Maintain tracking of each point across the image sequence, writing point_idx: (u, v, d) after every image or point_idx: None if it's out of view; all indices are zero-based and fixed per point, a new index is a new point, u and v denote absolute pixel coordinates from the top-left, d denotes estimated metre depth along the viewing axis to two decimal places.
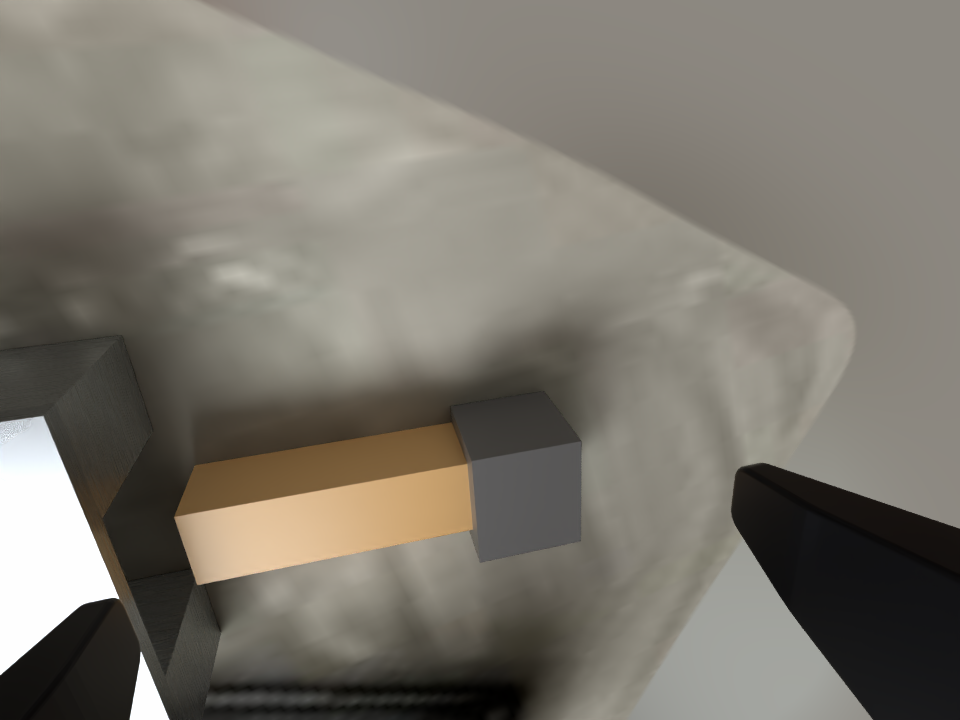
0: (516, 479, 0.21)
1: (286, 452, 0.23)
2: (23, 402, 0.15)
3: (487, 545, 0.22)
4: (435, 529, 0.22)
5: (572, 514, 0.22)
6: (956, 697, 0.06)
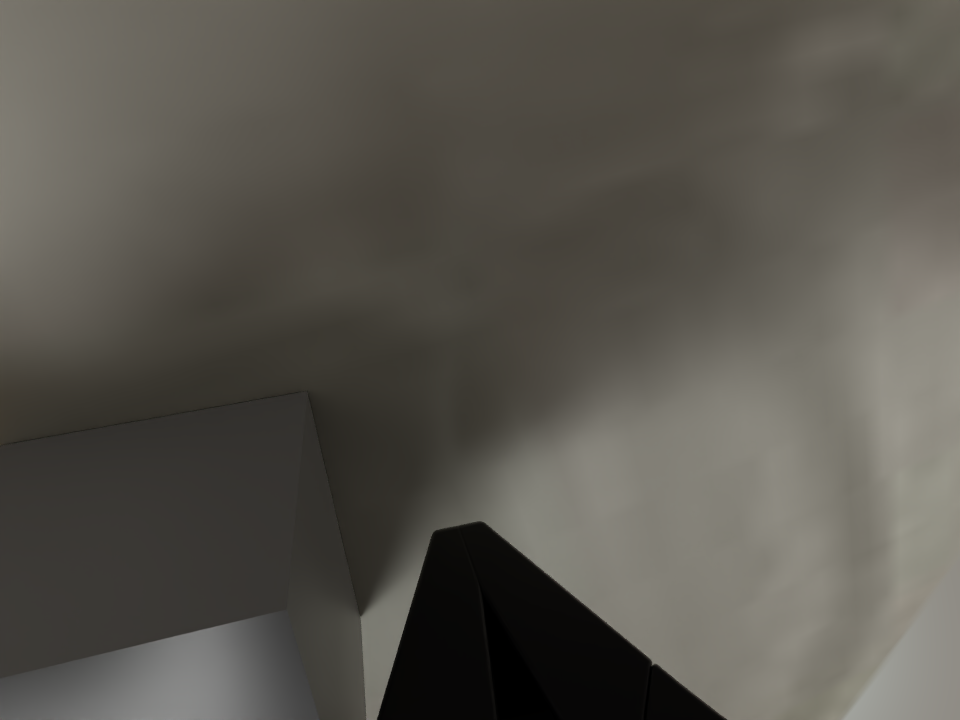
0: None
1: None
2: None
3: None
4: None
5: None
6: None
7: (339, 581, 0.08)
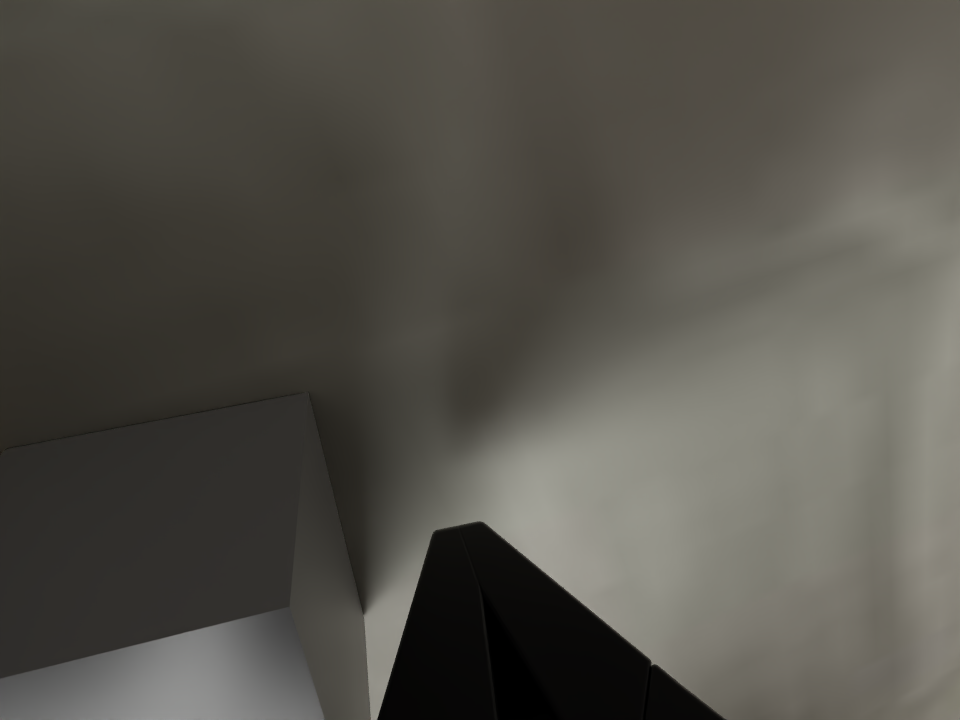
0: None
1: None
2: None
3: None
4: None
5: None
6: None
7: (342, 580, 0.08)
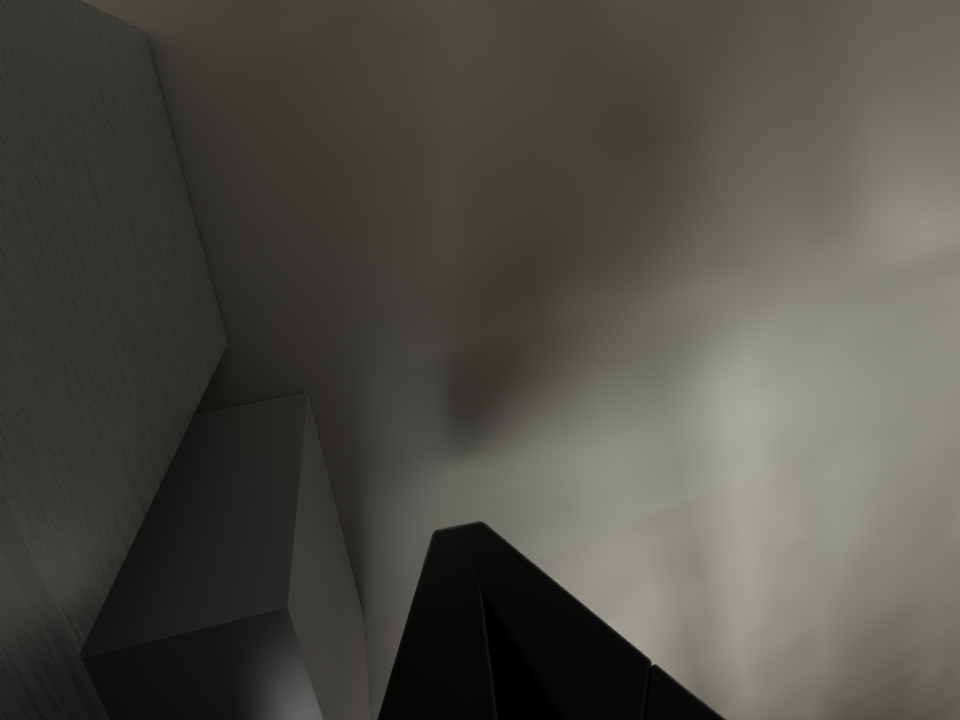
0: None
1: None
2: None
3: None
4: None
5: None
6: None
7: (342, 580, 0.08)
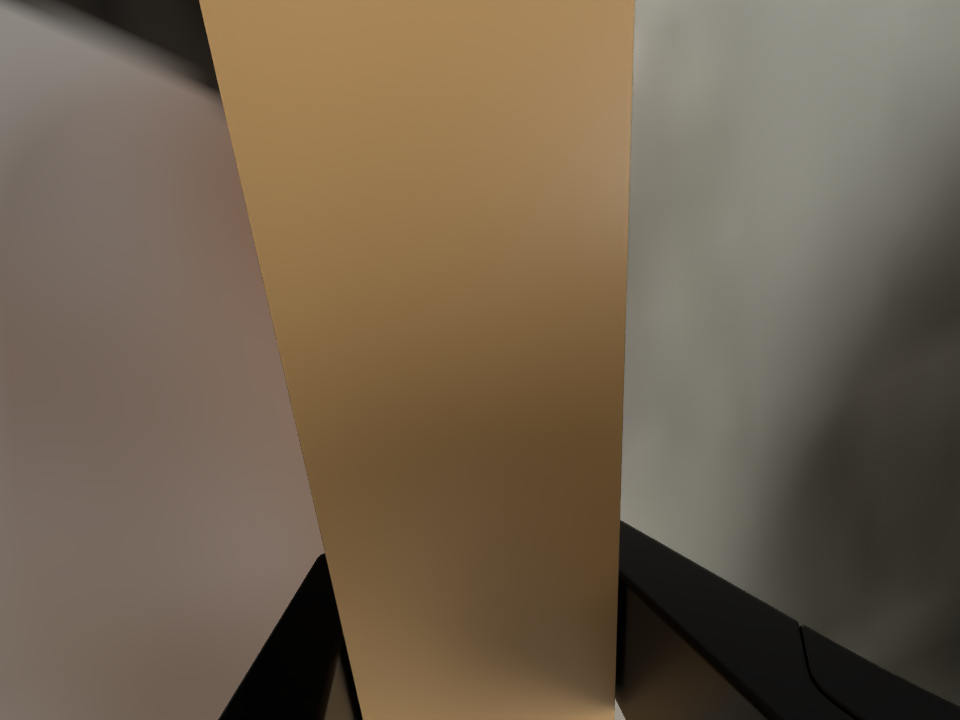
0: None
1: None
2: None
3: None
4: (589, 69, 0.04)
5: None
6: None
7: None
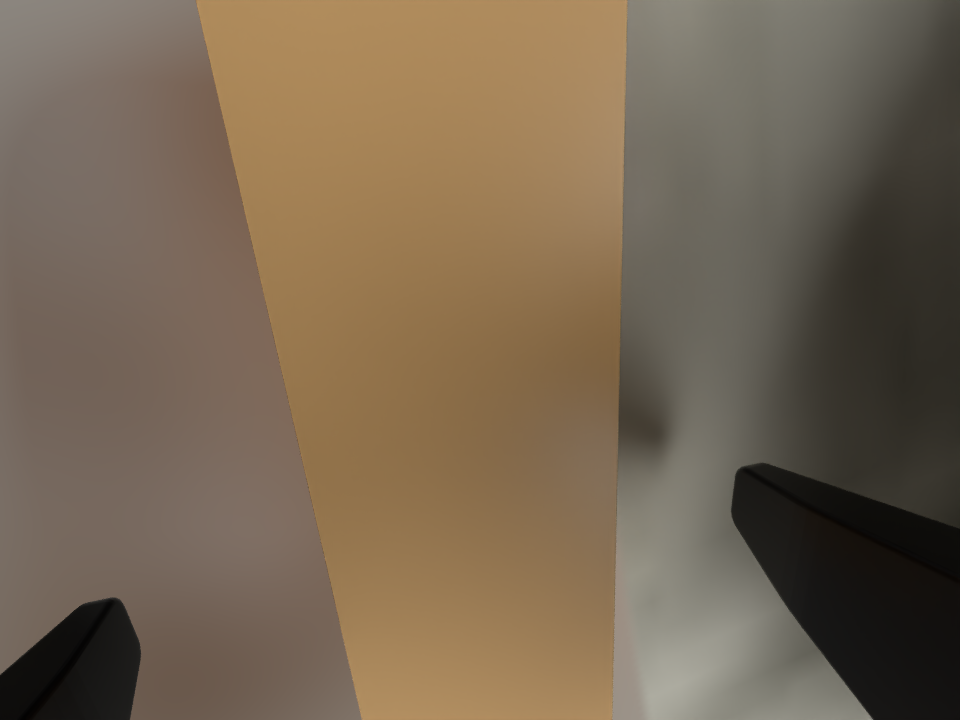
0: None
1: None
2: None
3: None
4: (582, 37, 0.04)
5: None
6: (956, 697, 0.06)
7: None
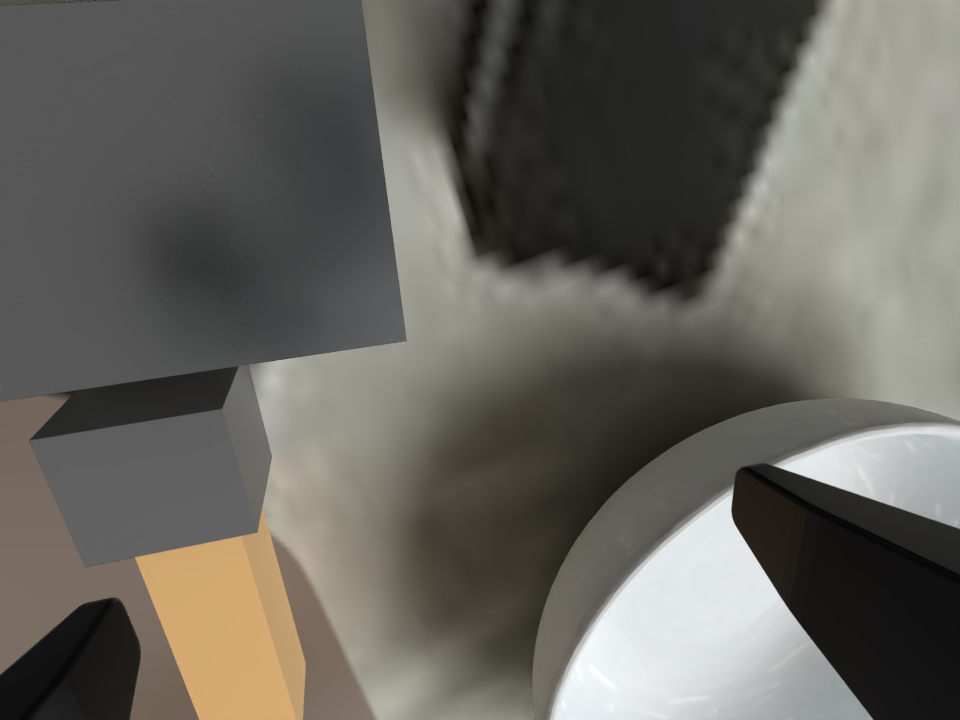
0: (110, 511, 0.15)
1: None
2: None
3: (228, 528, 0.16)
4: (234, 556, 0.18)
5: (169, 429, 0.15)
6: (956, 697, 0.06)
7: None
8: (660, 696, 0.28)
